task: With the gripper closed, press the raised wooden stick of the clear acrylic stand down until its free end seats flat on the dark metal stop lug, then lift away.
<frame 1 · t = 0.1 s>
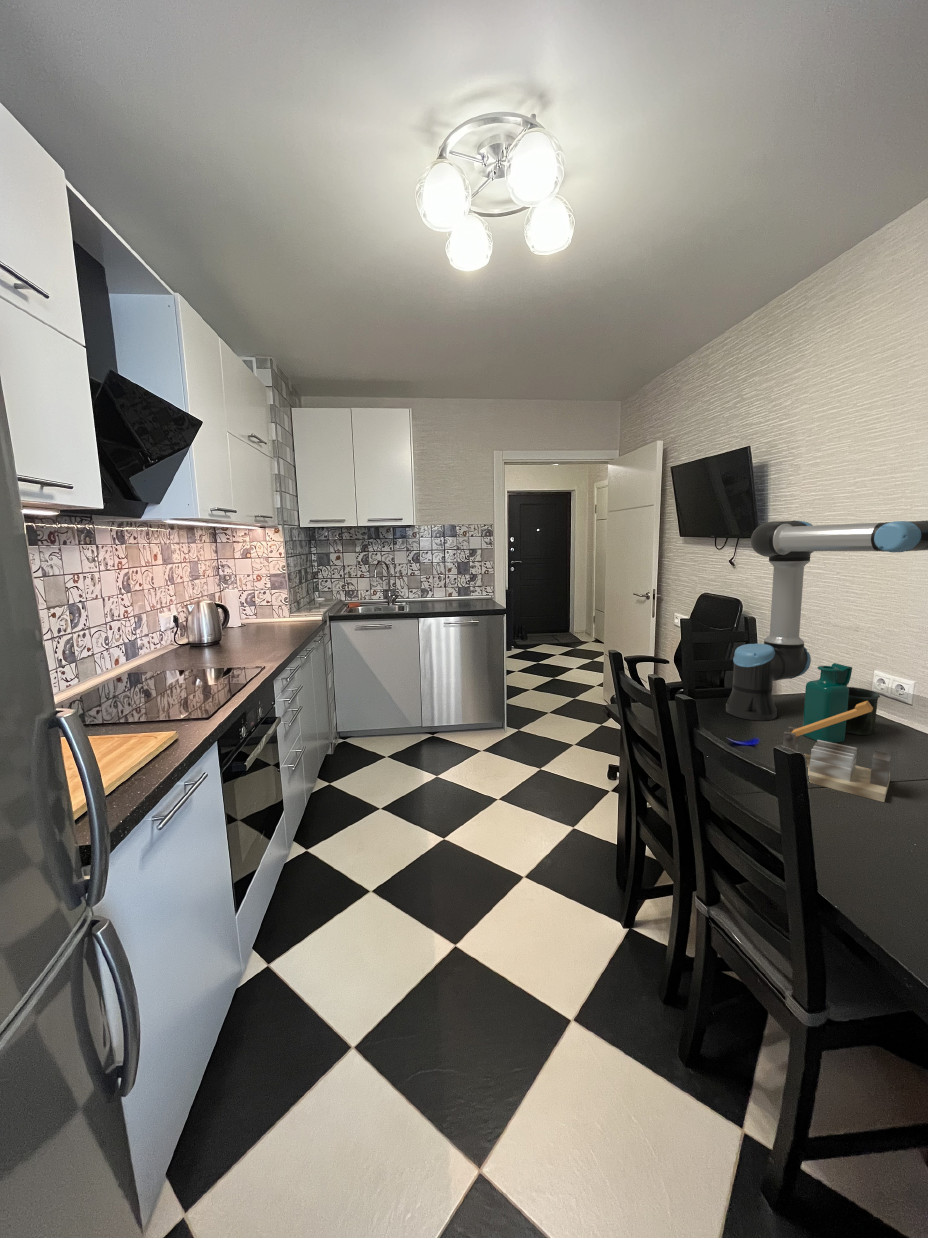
pitcher: (824, 738, 145), on the table
clear acrylic stand: (831, 777, 121), on the table
wooden stick: (829, 719, 120), point 15 cm above the table, hinge at 35.0°
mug: (851, 728, 152), on the table
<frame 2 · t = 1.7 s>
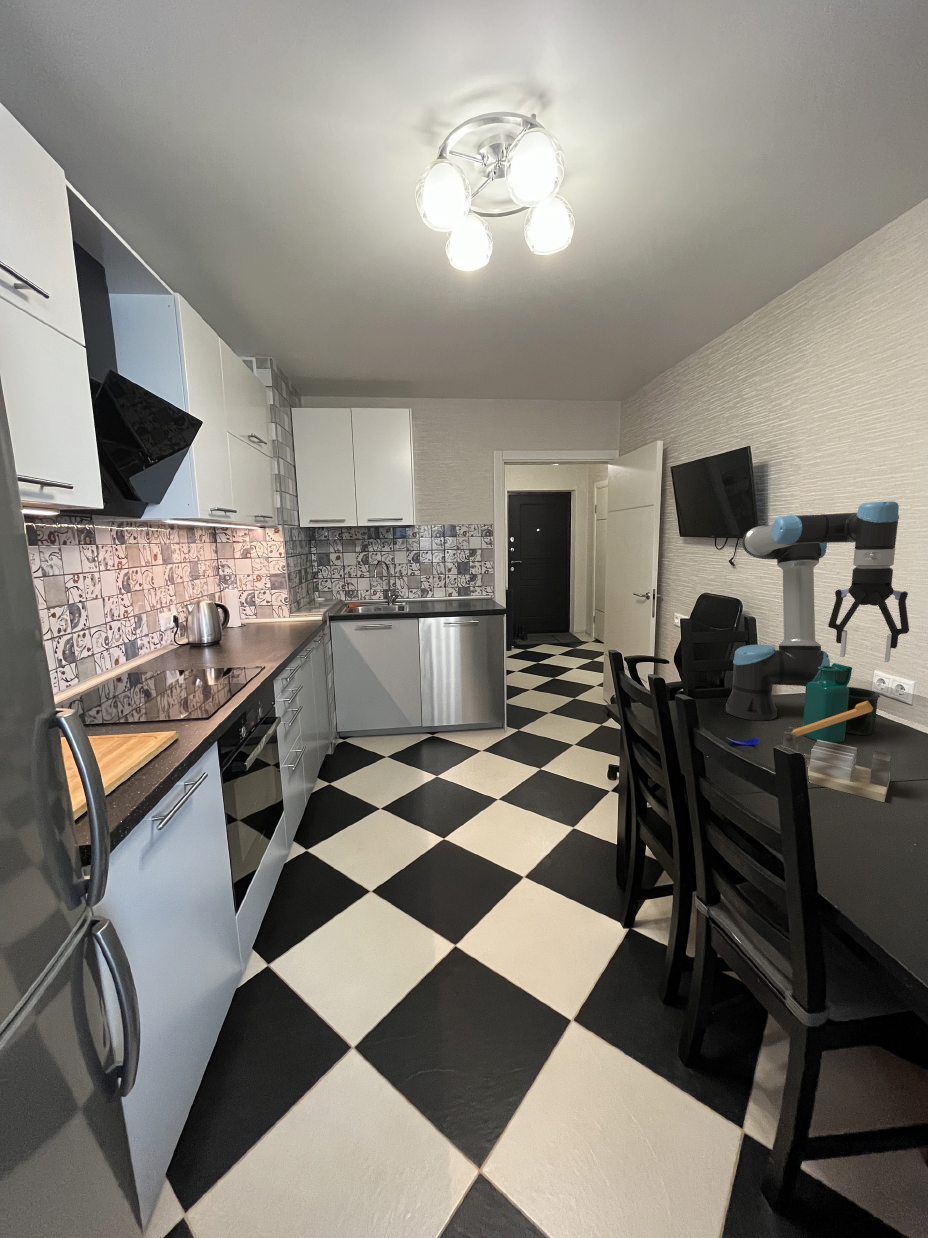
hand: (864, 658, 121), 29 cm above the table, fingers open, 8 cm apart
nothing on the table moved.
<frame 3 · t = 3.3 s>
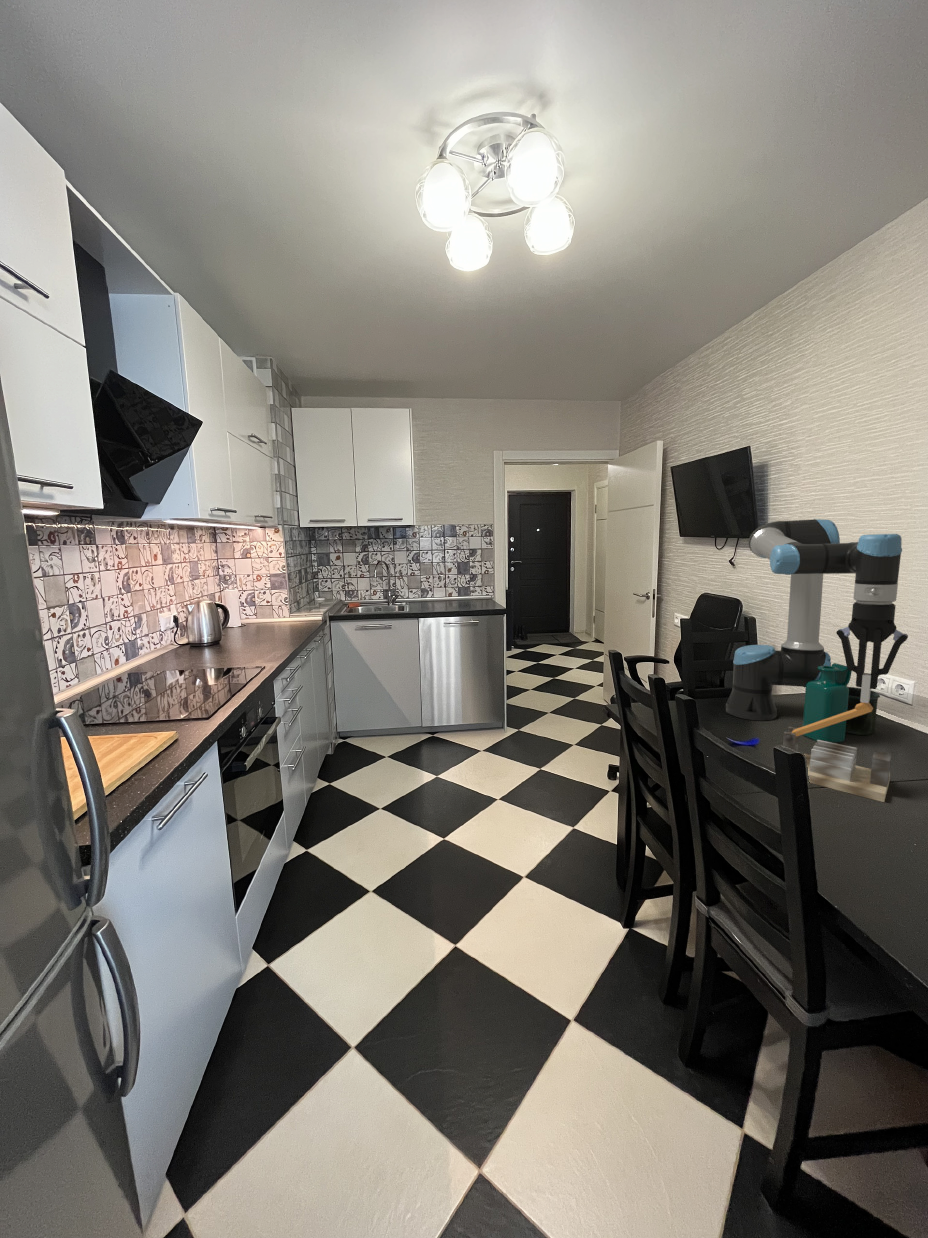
hand: (864, 701, 115), 21 cm above the table, fingers closed
wooden stick: (829, 719, 120), point 15 cm above the table, hinge at 35.0°, touching gripper
everything else where it was.
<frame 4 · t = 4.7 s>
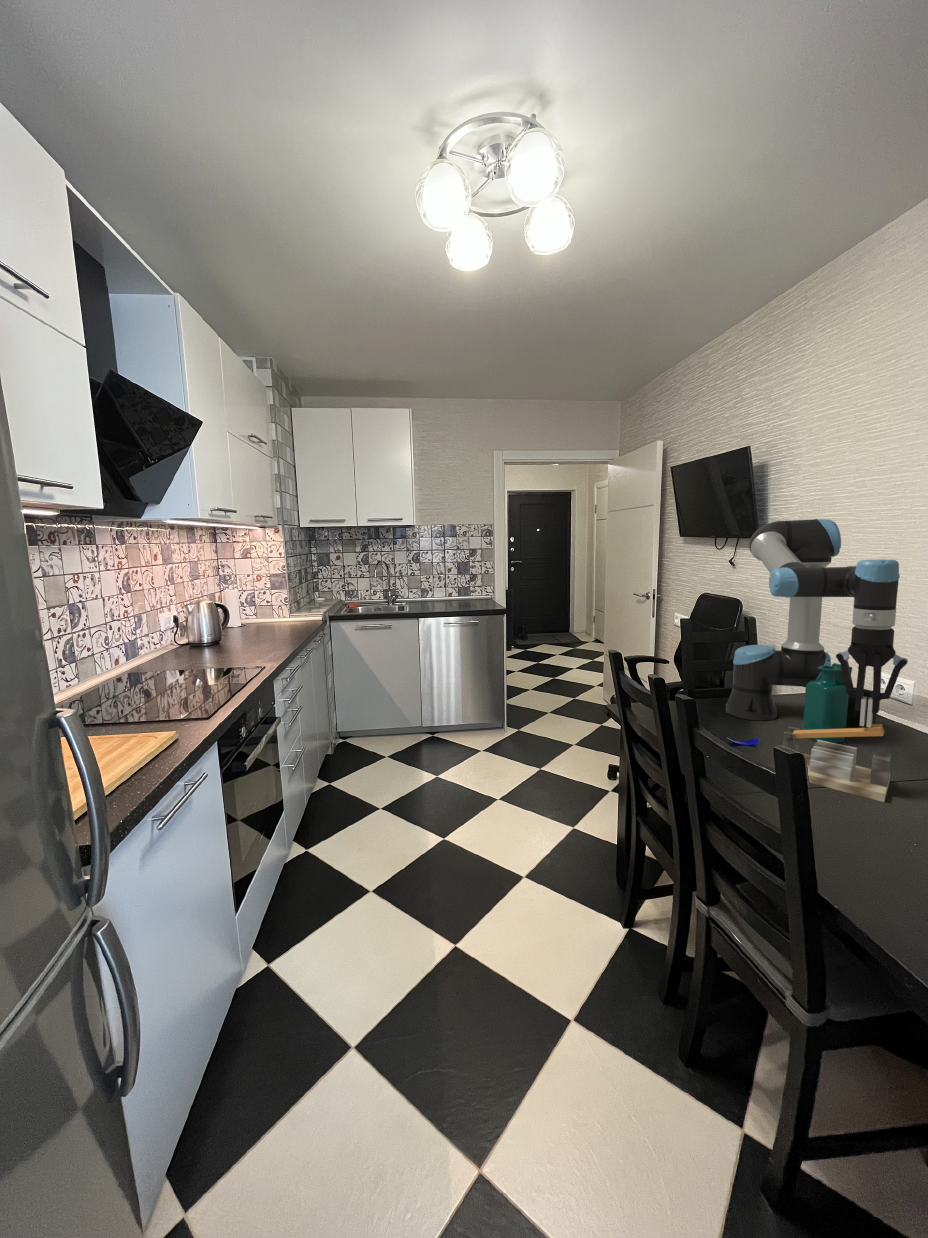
hand: (865, 724, 115), 15 cm above the table, fingers closed
wooden stick: (835, 731, 120), point 12 cm above the table, hinge at 16.7°, touching gripper
everything else where it was.
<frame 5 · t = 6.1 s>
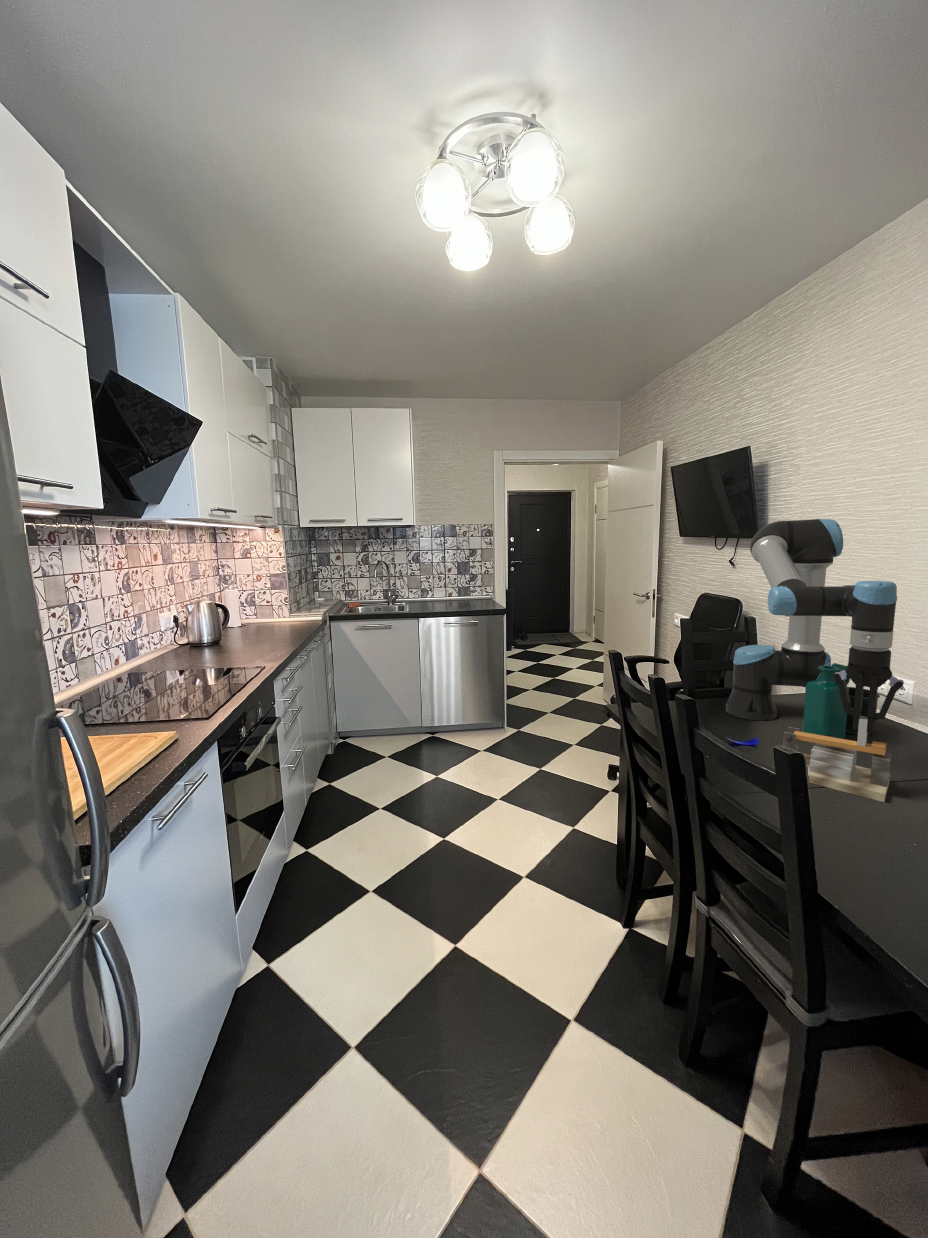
hand: (861, 744, 116), 10 cm above the table, fingers closed
wooden stick: (837, 740, 120), point 10 cm above the table, hinge at 2.3°, touching gripper
everything else where it was.
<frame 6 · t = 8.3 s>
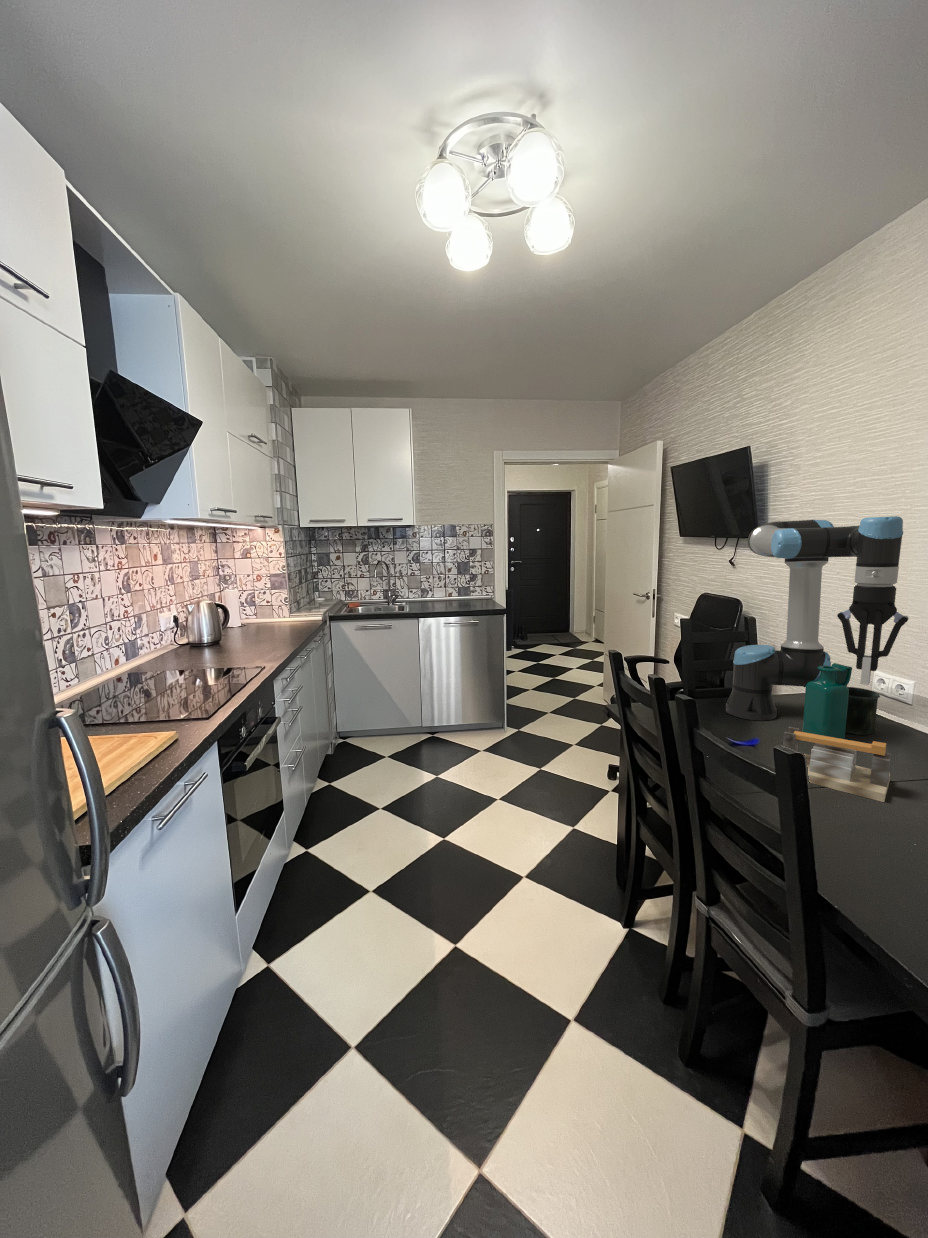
hand: (865, 683, 116), 25 cm above the table, fingers closed
wooden stick: (837, 741, 120), point 10 cm above the table, hinge at 2.3°
everything else where it was.
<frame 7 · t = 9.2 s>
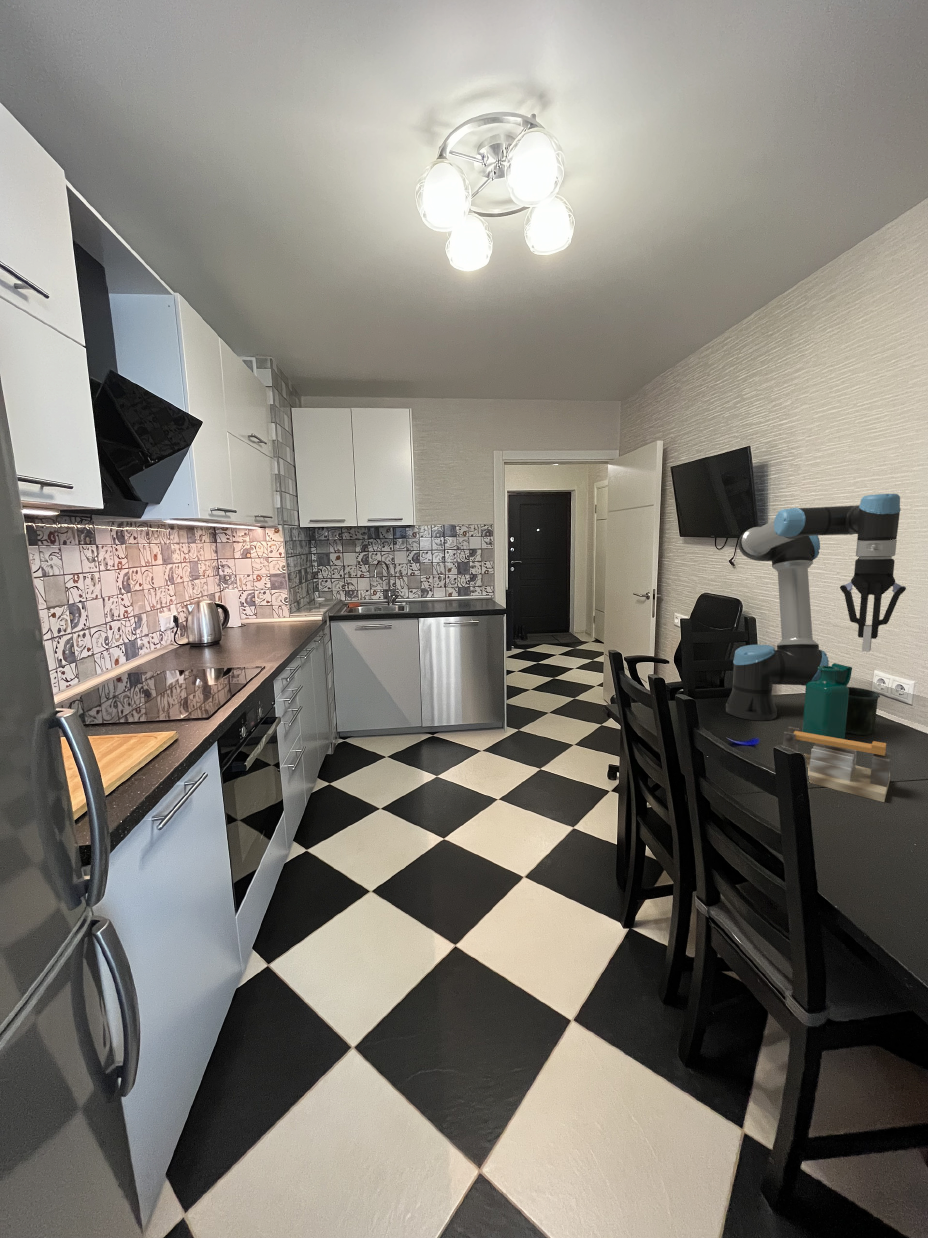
hand: (866, 650, 124), 30 cm above the table, fingers closed
nothing on the table moved.
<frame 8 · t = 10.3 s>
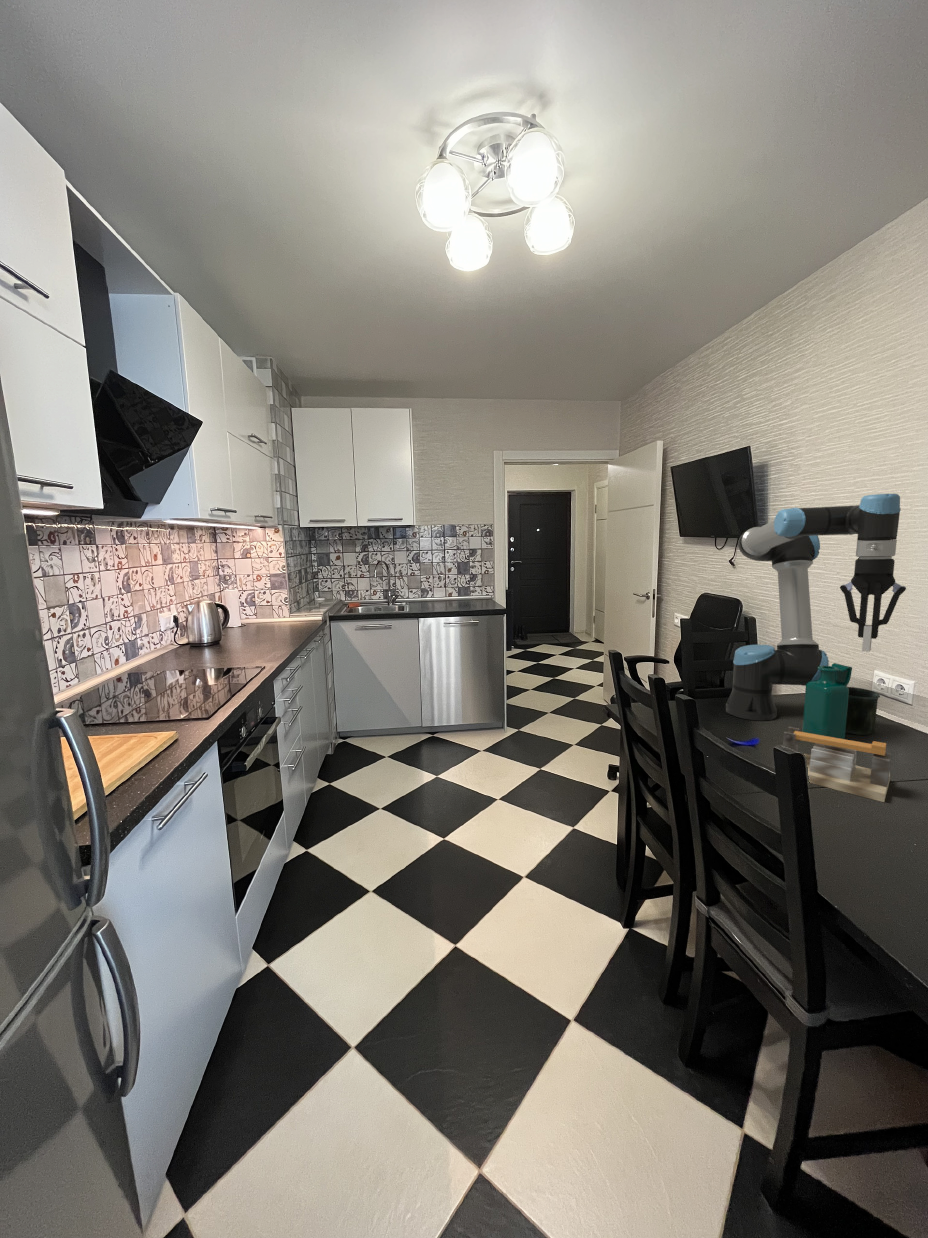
hand: (866, 650, 124), 30 cm above the table, fingers closed
nothing on the table moved.
at the end: wooden stick at +2° (first picture: +35°) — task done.
